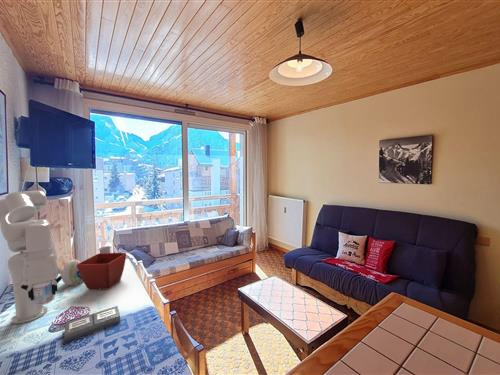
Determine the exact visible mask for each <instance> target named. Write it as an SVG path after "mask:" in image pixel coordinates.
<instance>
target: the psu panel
mask: <svg viewBox="0 0 500 375" xmlns="http://www.w3.org/2000/svg"><path fill="white" fill-rule="evenodd" d="M121 321H122V320H121V314H120V310H119V306H118V305H116V306H112V307H110V308H107V309H103V310H100V311H97V312H93V313H91V314H88V315H84V316H81V317H78V318H76V319H72V320H69V321H66V322H65V325H64V333H63V334H64V335H63V337H64V343H65V342H69V341H71V340H75V339H76V338H80V337H83V336H85V335H88V334H91V333H93V332H97V331H99V330H101V329H104V328H108V327H110V326H113V325H116V324H118V323H121Z"/></svg>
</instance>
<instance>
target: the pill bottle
mask: <svg viewBox="0 0 500 375" xmlns="http://www.w3.org/2000/svg"><path fill="white" fill-rule="evenodd" d="M52 285H53V283H52V281H47V282H42V283H38V284H33V295H34V304H35V305H38V306H39V305H43V306H45V305H47V304H49V303H51V302H52V301H53V300H54V299H55V297H54V296H55V295H53V289H52Z"/></svg>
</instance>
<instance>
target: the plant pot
mask: <svg viewBox="0 0 500 375" xmlns="http://www.w3.org/2000/svg"><path fill="white" fill-rule="evenodd" d="M126 258H127V252H110V253H100V252H99V253H97V254H95V255H93V256H91V257H88V258H87V259H84V260H83V261H80V262H81V263H79V264H77V267H78V270H79V273H80V276H81V278H82V280H83V281H82V283H84V285H85V286H86V289H88V290H90V291H91V290H108V289H111V288H112V287H113V286H115V285H116V284H117V283H118V282H120V281H121V280H122V275H123V273H124V270H125V269H124V268H125V264H126Z"/></svg>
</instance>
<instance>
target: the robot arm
mask: <svg viewBox="0 0 500 375" xmlns="http://www.w3.org/2000/svg"><path fill="white" fill-rule="evenodd" d="M47 204H48V197H47V195H46V193H45V192H44V191H42V190H24V191H23V190H22V191H14V192H10V193H8V194H7V195H6V196H5V198H4V199H0V231H1V234H2V236H3V238H4V240H5V241H6V242H7V246H8V247H7V248H8V249H9V251H10V252H12V253H17V254H13V255H12V256H10V257H9V258H8V261H7V268H8V270H9V274H10V277H11V281H12V282H11V283H12V290H13V298H14V299H13V300H14V309H15V315H14V316H13V317H12V319H11V323H12V324H19V325H20V324H25V323H28V322H31V321H34V320H37V319H39V318H40V317H42V316H43V315H45V314H46V313H47V312H48V307H47V306H45V305H39V306H38V305H35V304H34V295H33V284H38V283H42V282H47V281H52V284H53V285H52V289H53V295H54V296H55V295H56V292H58V291H59V290H58V289H59V288H58V284H59V282H61V281H62V278H63V277H64V276H65V275H66V272H65V271H63V269H61V268H59V266H58V261H57V260H58V255H57V251H56V248H55V245H54V241H53V237H52V234H51V230H52V229H51V228H52V227H51V222H50V221H48V220H47V219H35V220H31V219H33V218H34V217H35V216H36V214H37V213H39V212H41V211H42V210H43V209H44V208H45V207H46V205H47Z"/></svg>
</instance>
